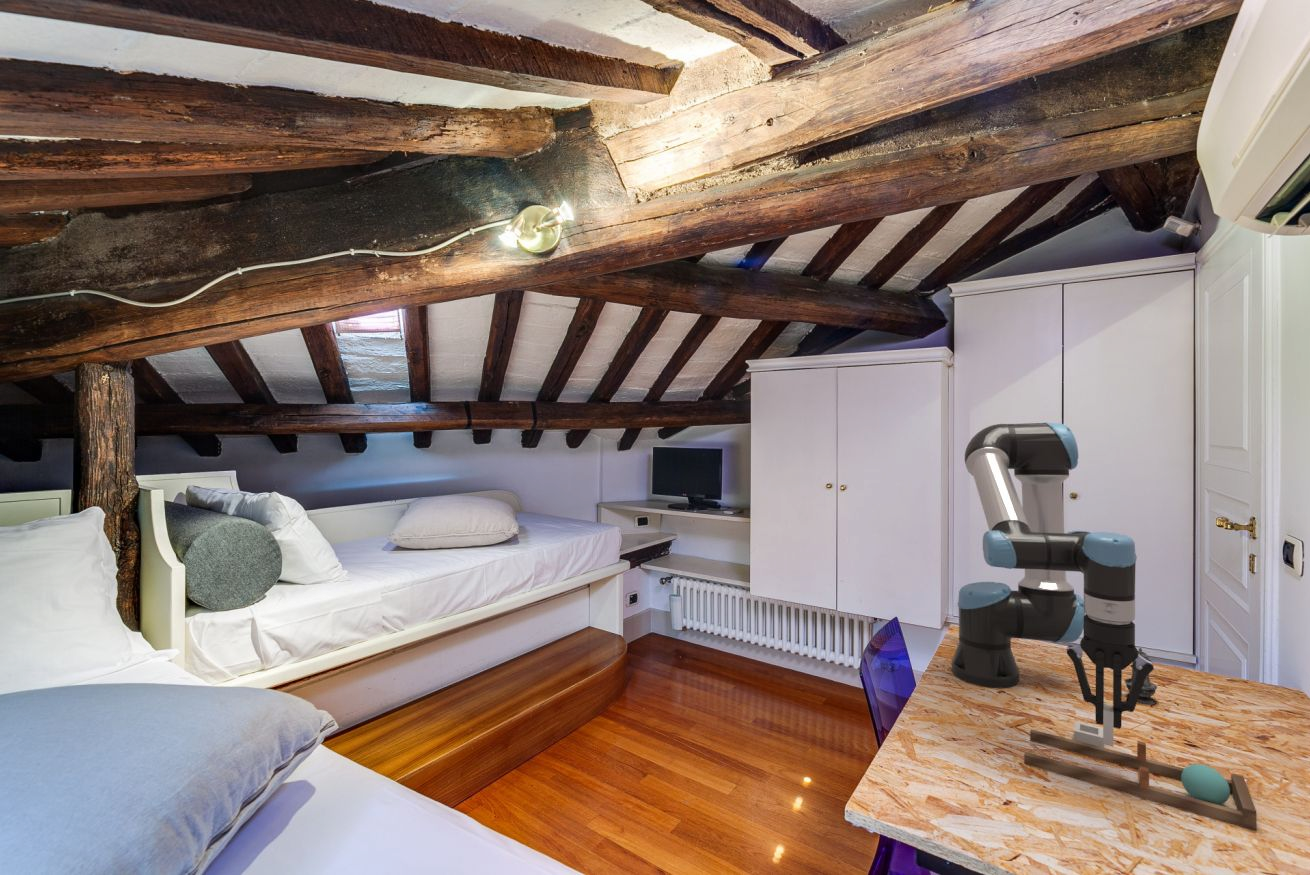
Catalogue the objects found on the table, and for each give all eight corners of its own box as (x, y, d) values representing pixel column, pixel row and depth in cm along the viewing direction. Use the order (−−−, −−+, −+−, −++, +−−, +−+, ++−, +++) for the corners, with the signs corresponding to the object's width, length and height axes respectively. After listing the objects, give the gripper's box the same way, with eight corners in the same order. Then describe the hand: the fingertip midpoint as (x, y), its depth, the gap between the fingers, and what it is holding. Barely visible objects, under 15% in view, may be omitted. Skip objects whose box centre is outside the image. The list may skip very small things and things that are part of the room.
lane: (1024, 763, 111) (1024, 738, 111) (1030, 737, 120) (1030, 714, 120) (1256, 830, 92) (1256, 800, 92) (1243, 793, 101) (1243, 766, 101)
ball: (1200, 816, 97) (1188, 786, 97) (1180, 788, 103) (1168, 759, 102) (1244, 811, 95) (1231, 780, 94) (1221, 782, 101) (1209, 753, 100)
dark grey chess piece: (1164, 704, 132) (1164, 652, 132) (1138, 705, 132) (1137, 652, 132) (1143, 693, 138) (1142, 642, 138) (1118, 693, 138) (1117, 643, 138)
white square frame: (1074, 740, 118) (1074, 730, 118) (1075, 730, 122) (1075, 721, 122) (1104, 748, 115) (1103, 738, 115) (1104, 737, 119) (1104, 727, 119)
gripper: (1064, 617, 109) (1064, 740, 110) (1156, 631, 101) (1155, 764, 102) (1066, 605, 115) (1066, 722, 116) (1153, 618, 107) (1152, 744, 108)
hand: (1108, 741), depth 109 cm, fingers closed
